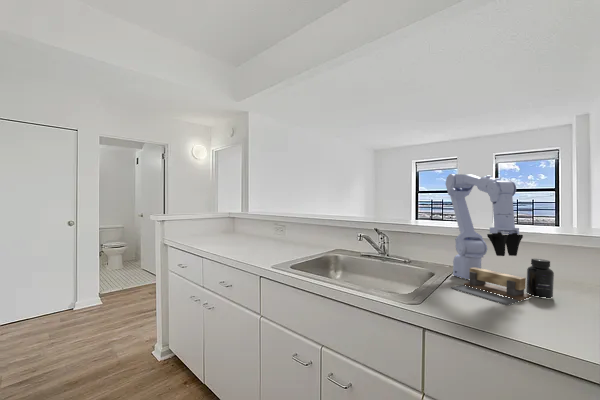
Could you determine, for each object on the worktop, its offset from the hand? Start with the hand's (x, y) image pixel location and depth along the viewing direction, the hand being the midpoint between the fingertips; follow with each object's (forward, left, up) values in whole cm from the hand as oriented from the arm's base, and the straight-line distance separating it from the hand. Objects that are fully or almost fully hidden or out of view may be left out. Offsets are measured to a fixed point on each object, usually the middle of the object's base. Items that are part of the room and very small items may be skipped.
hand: (506, 255), depth 95 cm
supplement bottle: (+6, +9, -13) cm, 17 cm away
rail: (-3, 0, -10) cm, 10 cm away
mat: (-3, -8, -13) cm, 15 cm away
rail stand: (-3, 0, -13) cm, 13 cm away
